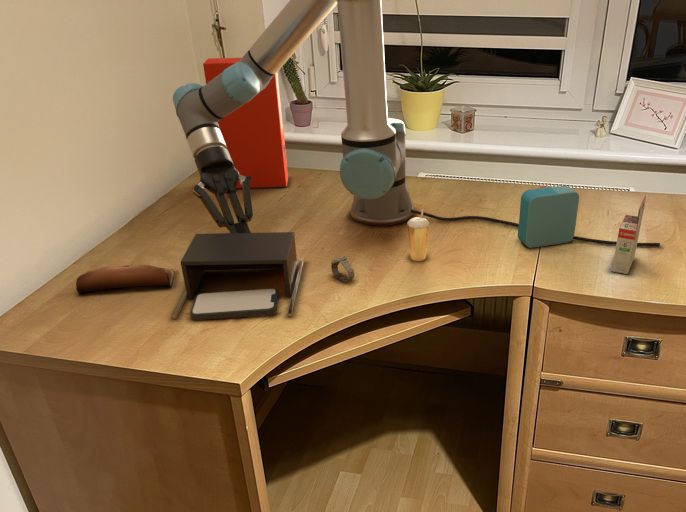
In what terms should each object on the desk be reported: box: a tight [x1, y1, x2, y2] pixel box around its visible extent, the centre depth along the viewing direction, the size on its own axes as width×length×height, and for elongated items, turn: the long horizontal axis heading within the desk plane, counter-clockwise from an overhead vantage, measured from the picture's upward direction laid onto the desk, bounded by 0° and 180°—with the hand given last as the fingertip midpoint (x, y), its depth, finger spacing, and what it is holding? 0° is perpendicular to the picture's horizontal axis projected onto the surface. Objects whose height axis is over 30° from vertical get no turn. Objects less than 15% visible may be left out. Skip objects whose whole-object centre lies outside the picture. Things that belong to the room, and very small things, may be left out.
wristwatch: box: [330, 255, 356, 283], centre depth 143 cm, size 4×6×5 cm, turn 41°
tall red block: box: [202, 57, 289, 189], centre depth 185 cm, size 8×17×32 cm, turn 94°
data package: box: [517, 185, 580, 249], centre depth 156 cm, size 12×4×12 cm, turn 107°
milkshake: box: [406, 209, 430, 262], centre depth 151 cm, size 5×5×10 cm
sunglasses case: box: [75, 264, 175, 294], centre depth 143 cm, size 18×7×7 cm, turn 99°
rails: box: [171, 260, 305, 320], centre depth 141 cm, size 22×23×1 cm
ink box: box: [610, 194, 647, 275], centre depth 145 cm, size 4×8×15 cm, turn 156°
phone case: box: [189, 288, 279, 321], centre depth 135 cm, size 9×2×16 cm
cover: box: [180, 231, 299, 300], centre depth 142 cm, size 20×13×8 cm, turn 91°
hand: (247, 252), depth 149 cm, fingers closed
